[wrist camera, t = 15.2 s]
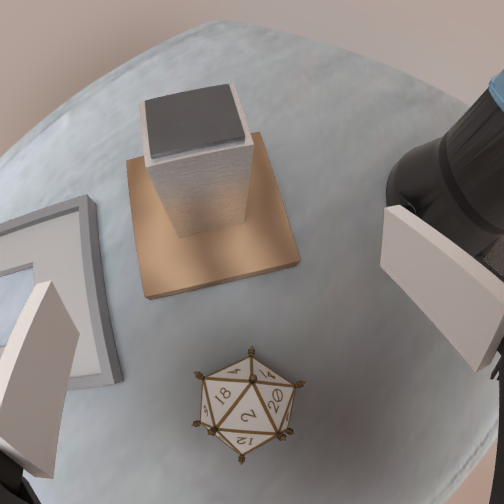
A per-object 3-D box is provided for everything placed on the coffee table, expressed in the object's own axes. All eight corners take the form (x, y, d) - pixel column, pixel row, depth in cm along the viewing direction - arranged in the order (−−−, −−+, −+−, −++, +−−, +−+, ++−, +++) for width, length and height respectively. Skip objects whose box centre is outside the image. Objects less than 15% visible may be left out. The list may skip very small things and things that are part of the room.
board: (258, 142, 34) (259, 131, 32) (295, 265, 31) (300, 260, 29) (131, 170, 32) (126, 160, 30) (150, 299, 29) (144, 297, 27)
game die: (236, 373, 31) (246, 306, 25) (306, 420, 27) (340, 365, 21) (173, 430, 25) (158, 377, 19) (247, 490, 21) (264, 462, 15)
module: (231, 175, 30) (233, 78, 18) (244, 223, 29) (254, 140, 17) (169, 189, 30) (137, 98, 17) (178, 238, 28) (143, 163, 16)
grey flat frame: (95, 204, 31) (86, 194, 29) (123, 380, 27) (114, 383, 24) (-50, 254, 28) (-61, 249, 26) (-37, 394, 24) (-50, 395, 21)
